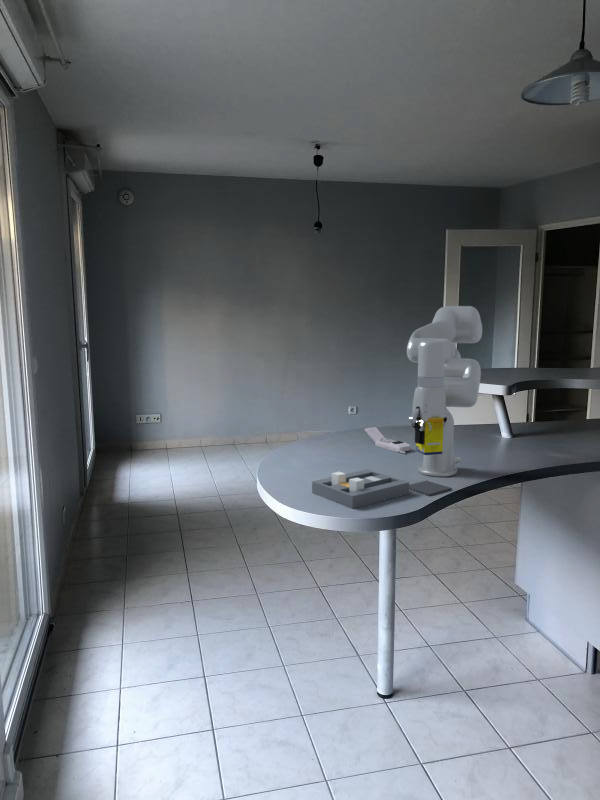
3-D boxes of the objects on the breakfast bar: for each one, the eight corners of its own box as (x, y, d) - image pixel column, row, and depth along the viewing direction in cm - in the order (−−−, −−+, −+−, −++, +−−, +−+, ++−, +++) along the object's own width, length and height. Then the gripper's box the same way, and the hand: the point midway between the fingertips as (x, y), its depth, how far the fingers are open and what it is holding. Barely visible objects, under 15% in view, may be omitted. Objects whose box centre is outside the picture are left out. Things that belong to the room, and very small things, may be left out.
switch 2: (356, 489, 180) (357, 477, 180) (364, 492, 178) (364, 479, 177) (349, 491, 179) (349, 479, 178) (356, 494, 176) (356, 481, 176)
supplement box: (415, 450, 189) (416, 415, 187) (433, 449, 190) (434, 414, 189) (424, 455, 183) (425, 418, 182) (442, 454, 185) (444, 417, 183)
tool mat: (426, 482, 196) (426, 480, 196) (451, 489, 188) (451, 487, 188) (403, 488, 190) (403, 486, 190) (428, 496, 182) (428, 494, 182)
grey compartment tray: (367, 480, 198) (367, 469, 198) (408, 493, 184) (409, 481, 184) (312, 492, 185) (312, 481, 185) (352, 508, 171) (352, 495, 171)
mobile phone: (374, 426, 255) (415, 437, 233) (374, 440, 256) (415, 452, 234) (362, 428, 252) (402, 439, 230) (362, 442, 253) (402, 455, 231)
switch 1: (339, 483, 187) (339, 471, 186) (345, 485, 184) (345, 473, 184) (331, 485, 185) (331, 473, 184) (338, 487, 183) (338, 475, 182)
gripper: (440, 379, 192) (438, 435, 195) (400, 383, 182) (399, 443, 184) (460, 381, 186) (458, 440, 189) (419, 386, 176) (418, 448, 178)
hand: (428, 441), depth 187 cm, fingers closed on supplement box, 7 cm apart
